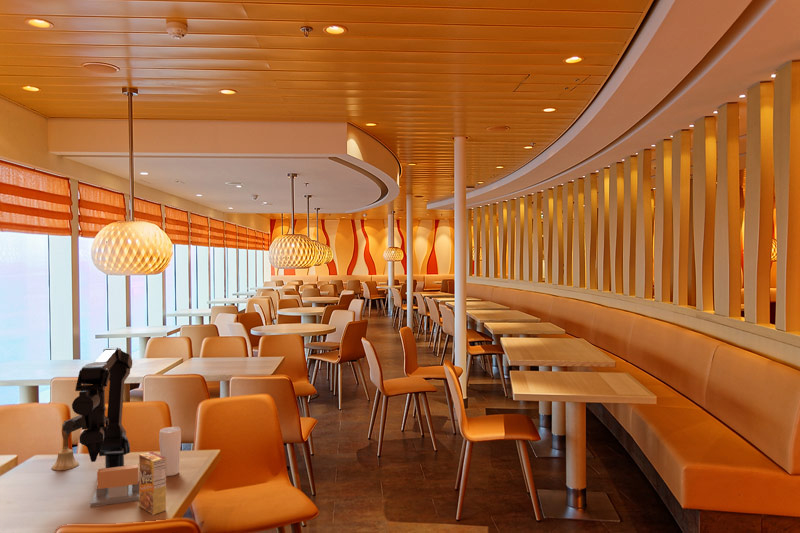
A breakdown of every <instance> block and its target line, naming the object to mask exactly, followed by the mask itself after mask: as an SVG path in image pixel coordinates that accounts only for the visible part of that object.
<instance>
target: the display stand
mask: <svg viewBox="0 0 800 533" xmlns="http://www.w3.org/2000/svg"><path fill="white" fill-rule="evenodd" d="M95 487H96V488H95V492H94V495H93V496H92V499H91V502H90V507H91V508H92V507H98V506H104V505H106V506H107V505H113V504H120V503H121V504H123V503H127V502H128V503H129V502H136V501H139V482H138V484H135V485H127V486H119V487H111V488H103V489H97V485H96V486H95Z"/></svg>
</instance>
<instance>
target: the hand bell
mask: <svg viewBox="0 0 800 533" xmlns="http://www.w3.org/2000/svg"><path fill="white" fill-rule="evenodd" d="M65 421H66V420H64V421H63V423H64V422H65ZM61 426H62V425H61ZM61 436H62V449H61V450H59V451H58V453H57V458H56V460H55V462H54V464H53V465H52V467H51V469H52V470H53V471H66V470H71V469H74V468H77V467H78V466H79V465H80V463H79V462H78V461H77V460H76V459H75V455H74V451H73V449H70V448H69V437H70V434H66V433H65V431H63V426H62V427H61Z"/></svg>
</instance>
